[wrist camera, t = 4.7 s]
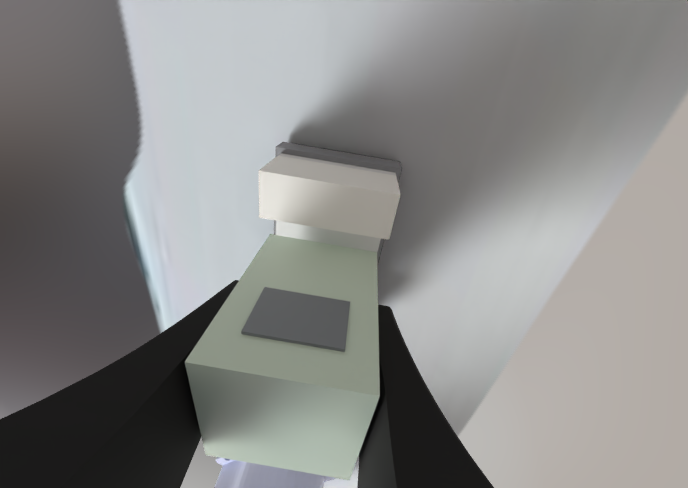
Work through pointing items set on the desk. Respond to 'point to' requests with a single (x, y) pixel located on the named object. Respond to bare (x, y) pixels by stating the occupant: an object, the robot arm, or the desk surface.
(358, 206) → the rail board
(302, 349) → the sage module
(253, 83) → the desk surface
